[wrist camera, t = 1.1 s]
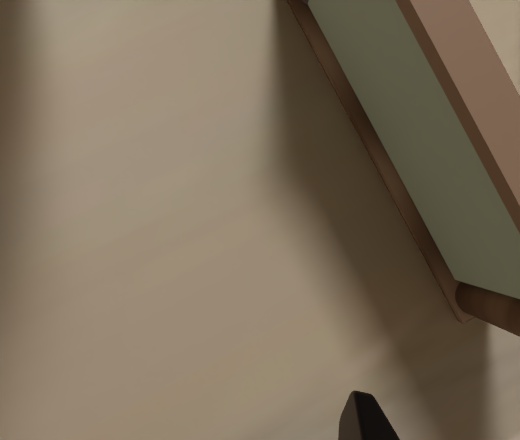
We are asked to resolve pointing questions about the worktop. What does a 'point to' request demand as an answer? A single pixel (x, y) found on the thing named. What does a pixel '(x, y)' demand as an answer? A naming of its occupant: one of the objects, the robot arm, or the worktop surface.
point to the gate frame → (457, 293)
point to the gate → (440, 123)
